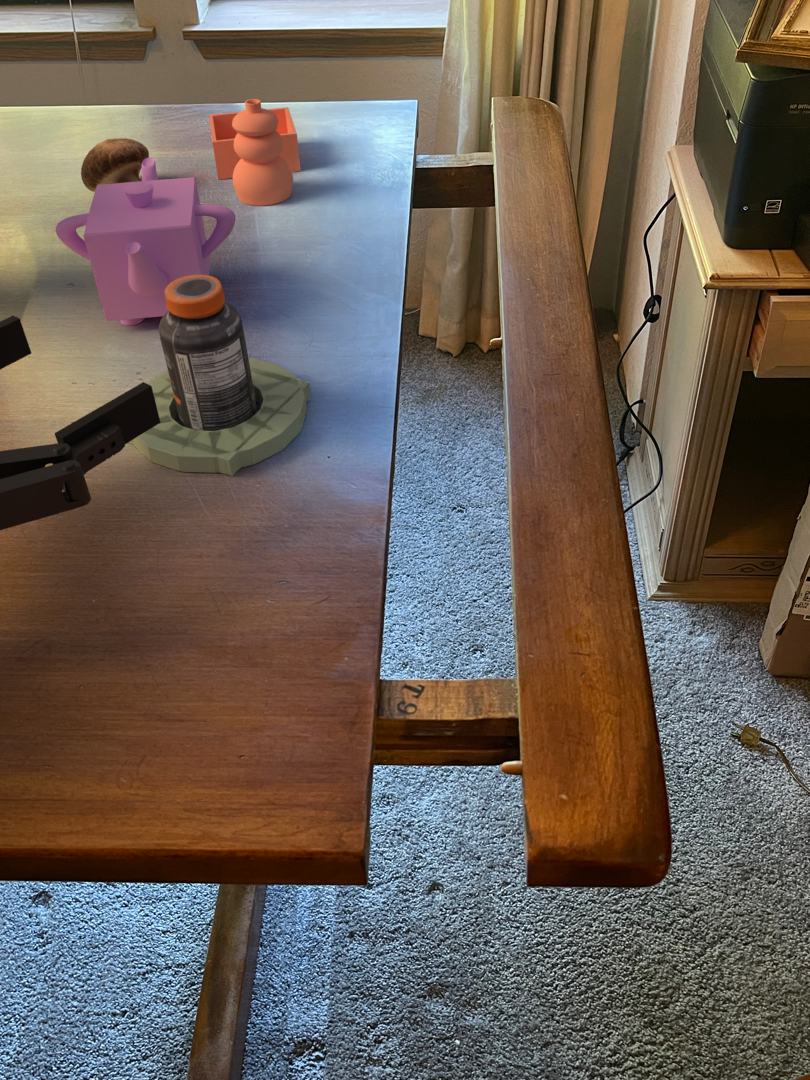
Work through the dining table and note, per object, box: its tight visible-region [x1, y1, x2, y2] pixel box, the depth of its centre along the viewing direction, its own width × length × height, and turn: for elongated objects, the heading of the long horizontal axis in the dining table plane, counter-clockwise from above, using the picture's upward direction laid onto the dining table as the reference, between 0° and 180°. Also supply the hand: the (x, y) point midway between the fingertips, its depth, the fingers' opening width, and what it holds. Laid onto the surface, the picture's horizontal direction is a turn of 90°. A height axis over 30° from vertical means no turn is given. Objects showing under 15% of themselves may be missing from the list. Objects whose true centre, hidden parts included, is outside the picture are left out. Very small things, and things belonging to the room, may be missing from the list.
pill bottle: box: [158, 275, 258, 431], centre depth 70 cm, size 6×6×11 cm
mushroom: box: [80, 137, 150, 193], centre depth 105 cm, size 8×8×6 cm
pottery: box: [208, 98, 301, 207], centre depth 106 cm, size 18×10×10 cm, turn 11°
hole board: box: [127, 356, 312, 477], centre depth 73 cm, size 13×13×2 cm
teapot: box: [55, 157, 236, 326], centre depth 84 cm, size 15×13×11 cm
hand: (84, 366), depth 62 cm, fingers open, 13 cm apart
